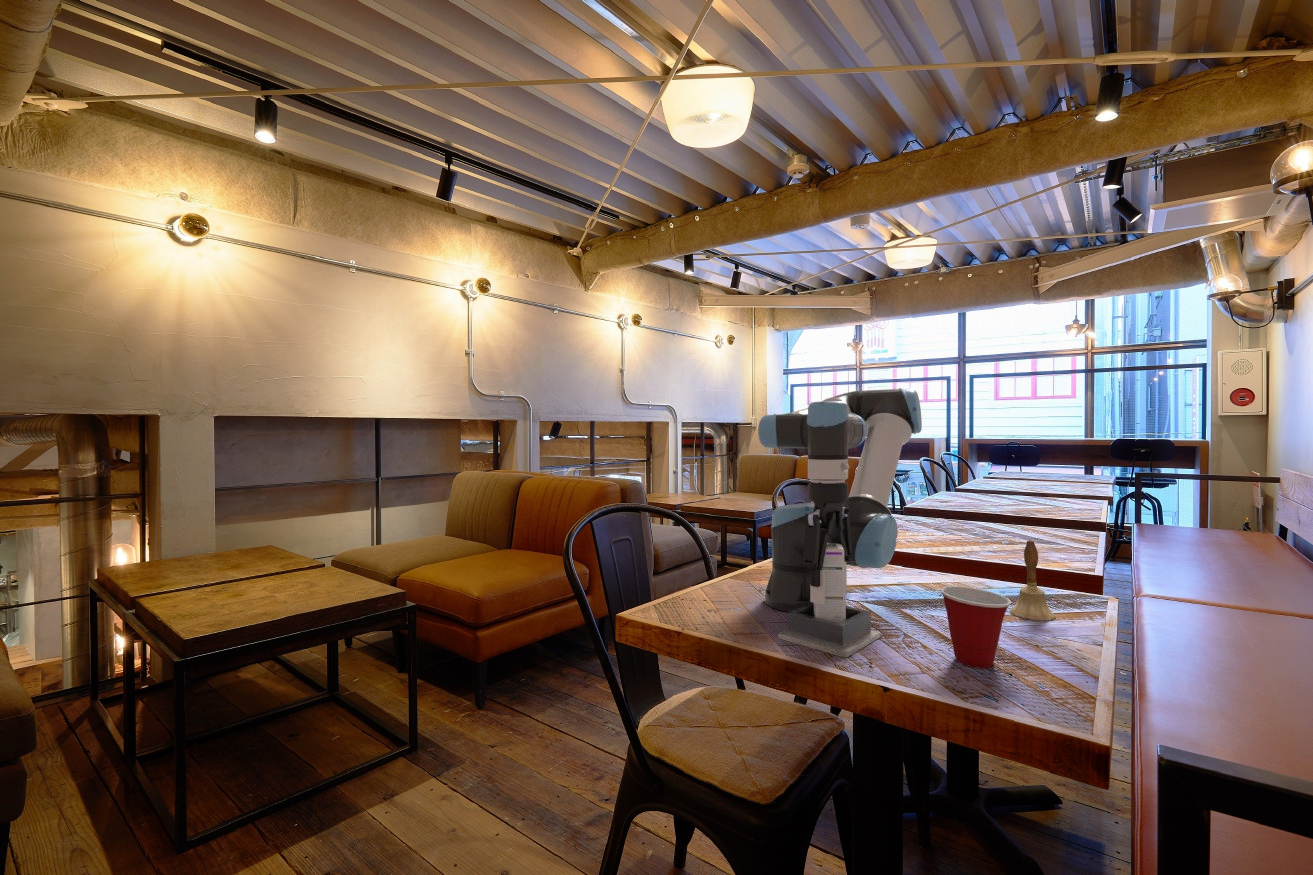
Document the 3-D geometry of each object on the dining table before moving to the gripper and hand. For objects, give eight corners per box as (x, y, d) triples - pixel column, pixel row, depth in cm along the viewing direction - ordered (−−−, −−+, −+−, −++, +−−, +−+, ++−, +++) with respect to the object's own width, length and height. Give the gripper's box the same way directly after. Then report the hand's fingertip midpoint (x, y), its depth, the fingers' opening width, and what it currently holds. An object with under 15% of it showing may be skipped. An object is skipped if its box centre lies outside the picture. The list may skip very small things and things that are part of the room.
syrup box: (846, 625, 108) (846, 548, 108) (814, 623, 110) (813, 547, 109) (843, 615, 114) (842, 542, 114) (812, 614, 115) (811, 541, 115)
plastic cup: (1023, 676, 94) (1023, 603, 93) (952, 673, 95) (952, 601, 95) (995, 651, 104) (995, 585, 104) (932, 648, 106) (932, 583, 106)
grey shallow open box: (778, 638, 112) (778, 612, 112) (815, 620, 122) (815, 597, 122) (846, 657, 102) (845, 629, 102) (880, 637, 112) (880, 611, 112)
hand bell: (1039, 623, 118) (1039, 546, 118) (1001, 612, 126) (1000, 539, 126) (1064, 617, 122) (1064, 542, 122) (1025, 606, 129) (1025, 536, 129)
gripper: (818, 486, 102) (819, 614, 102) (870, 478, 116) (871, 590, 116) (781, 483, 107) (783, 605, 107) (835, 476, 121) (836, 584, 122)
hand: (828, 597), depth 112 cm, fingers closed on syrup box, 8 cm apart
